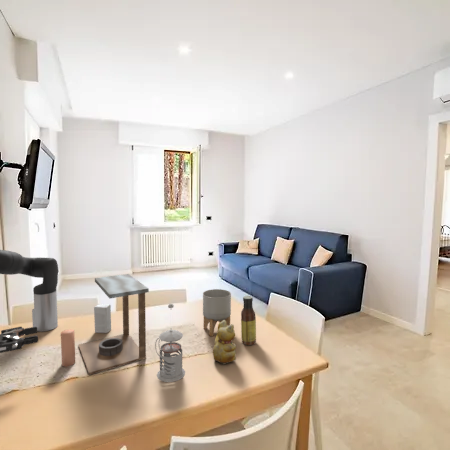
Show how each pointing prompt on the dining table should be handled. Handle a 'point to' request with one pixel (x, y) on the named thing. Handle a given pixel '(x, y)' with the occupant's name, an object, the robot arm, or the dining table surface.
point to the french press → (170, 356)
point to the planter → (216, 308)
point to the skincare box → (102, 318)
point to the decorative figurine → (224, 343)
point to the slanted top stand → (123, 344)
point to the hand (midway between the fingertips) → (37, 333)
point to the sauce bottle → (248, 322)
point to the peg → (68, 347)
